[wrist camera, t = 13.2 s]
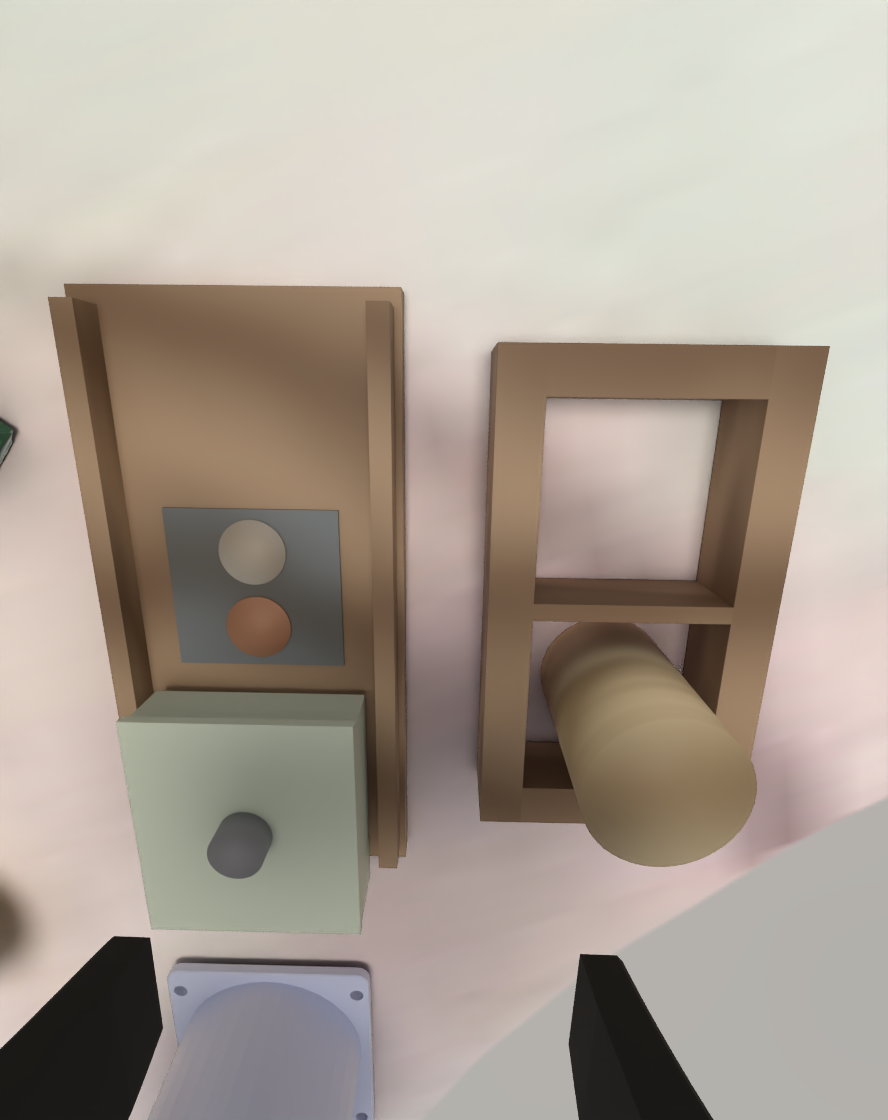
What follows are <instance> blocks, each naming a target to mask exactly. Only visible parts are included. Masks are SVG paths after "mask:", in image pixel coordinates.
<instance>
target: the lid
mask: <svg viewBox="0 0 888 1120" xmlns="http://www.w3.org/2000/svg"><path fill="white" fill-rule="evenodd" d="M116 725H117V731H118V736H119V742H120V748H121V754H122V760H123V766H124V772H125V777H126V783H127V789H128V795H129V801H130V807H131V812H132V818H133V824H134V830H135V836H136V842H137V848H138V853H139V859H140V865H141V871H142V877H143V883H144V888H145V894H146V900H147V906H148V912H149V918H150V924H151V929H166V930H205V931H245V932H285V933H324V934H361V929H362V917H363V911H364V906H365V900H366V895H367V889H368V883H369V878H370V852H369V819H368V786H367V752H366V719H365V695H350V694H299V693H248V692H198V691H156V692H155V693H154V694H153V695H151V696H150V697H149V698H148V699H147V700H146V701H145V702H144V703H143V704H142V705H141V706H140V707H139V708H138V709H137V710H136V711H135V712H134V713H133V714H132V715H131V716H122V717H121V718H120V719H119V720H118V721H117V722H116Z"/></svg>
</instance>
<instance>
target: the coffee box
mask: <svg viewBox="0 0 888 1120" xmlns="http://www.w3.org/2000/svg"><path fill="white" fill-rule="evenodd" d="M12 435H13V430H12V428H10V427H9V426H7V425H6V424H4V423H3V422H2V421H0V465H1V463H2V461H3V459H4V457H5V455H6V454H7V452H8V450H9V448H10V446H11V445H12V443H13V442H12Z"/></svg>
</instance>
